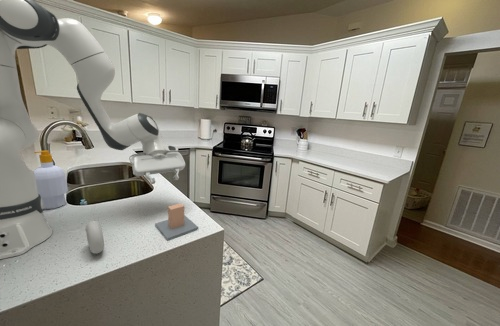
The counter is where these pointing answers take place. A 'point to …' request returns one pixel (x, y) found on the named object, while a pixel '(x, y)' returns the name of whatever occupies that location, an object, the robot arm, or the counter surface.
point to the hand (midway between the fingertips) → (165, 181)
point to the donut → (95, 237)
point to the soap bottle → (50, 182)
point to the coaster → (176, 229)
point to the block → (175, 216)
